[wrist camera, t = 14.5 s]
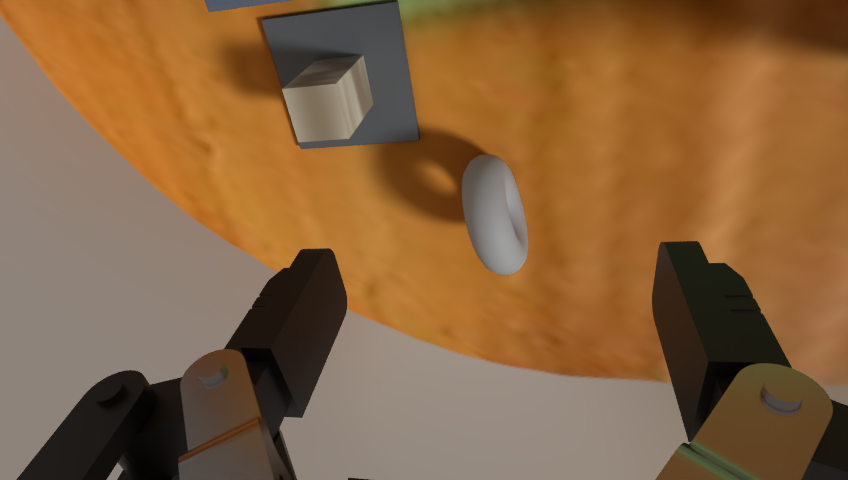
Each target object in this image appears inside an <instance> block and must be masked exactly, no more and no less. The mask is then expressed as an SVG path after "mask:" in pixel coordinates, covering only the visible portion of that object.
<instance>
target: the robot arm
mask: <svg viewBox="0 0 848 480" xmlns="http://www.w3.org/2000/svg"><path fill="white" fill-rule="evenodd" d="M652 309H653V316H654V321H655V325H656V328H657V332H658V335H659V339H660V342H661V346H662V349H663V353H664V356H665V360H666V363H667V367H668V370H669V374H670V377H671V381H672V385H673V388H674V392H675V395H676V398H677V402H678V405H679V409H680V412H681V416H682V420H683V423H684V427H685V430H686V434H687V437H688V441H689V442H691V443H690V444H689V445H688V444H686V443H683V444H681V445H680V446H679V447H678V448H677V450H676V451H675V453H674V454H673V455H672V457H671V458H670V459H669V461H668V462H667V464H666V465H665V467H664V468H663V470H662V471H661V472H660V474H659V475H658V477H657V478H656V480H848V406H847V405H844V404H841V403H838V402H836V401H833V400H831V399H830V398H829V396H828V394H827V393H826V392H825V390H824V389H823V388H822V387H821V386H820V385H819V384H818V383H817V382H815V381H814V380H813V379H811V378H810V377H808V376H807V375H805V374H803V373H801V372H799V371H797V370H795V369H792V367H791V365H790V363H789V362H788V360H787V358H786V356H785V354H784V352H783V350H782V349H781V347H780V345H779V343H778V341H777V339H776V337H775V336H774V334H773V332H772V330H771V328H770V326H769V324H768V323H767V321H766V319H765V317H764V315H763V314H761V309H760V308H759V306H758V304H757V302H756V300H755V299H753V295H752V293H751V291H750V289H749V287H748V285H747V283H746V282H745V280H744V278H743V277H742V276H740V275H739V274H738V273H737V272H735V271H734V270H733V269H732V268H730V267H729V266H728V265H727V264H725V263H709V262H708V260H707V258H706V256H705V254H704V252H703V249H702V247H701V245H700V243H699V242H697V241H684V242H661V243H660V246H659V250H658V257H657V264H656V271H655V278H654V286H653V293H652ZM346 310H347V295H346V291H345V287H344V284H343V281H342V277H341V274H340V271H339V268H338V264H337V261H336V258H335V255H334V253H333V251H332V250H331V249H329V248H328V249H302V250H301V251H300V252H299V253H298V255H297V256H296V258H295V260H294V261H293V263H292V264H291V266H290V268H283V269H282V270H281V271H280V272H278V273H277V274H276V275H275V276H273V277H272V278H271V279H270V280H269V281H268V282H267V284H266V285H265V287H264V288H263V290H262V292H261V293H260V297H258V298H257V299H256V301H255V302H254V304H253V306H252V309H250V310H249V311H248V313H247V314H246V316H245V318H244V319H243V321H242V322H241V324H240V325H239V327H238V328H237V330H236V331H235V333H234V334H233V336H232V338H231V339H230V341H229V342H228V344H227V345H226V347H225V348H224V349H222V350H217V351H214V352H211V353H208V354H206V355H204V356H203V357H201V358H199V359H198V360H197V361H195V362H194V363H193V364H192V365H191V366H190V367H189V368H188V369H187V370H186V372H185V373H184V375H183V377H181V378H177V379H173V380H169V381H164V382H160V383H156V384H152V385H150V384H149V383H148V381H147V380H146V378H145V377H144V375H143V374H142V373H140V372H138V371H132V370H129V371H122V372H118V373H116V374H113V375H111V376H108V377H107V378H105V379H103V380H102V381H100V382H98V383H97V384H96V385H94V386H93V387H92V388H91V389H90V390H89V391H88V392H87V393H86V394H85V395H84V396H83V397H82V399H81V400H80V401H79V402H78V404H77V405H76V406H75V407H74V408H73V410H72V411H71V412H70V414H69V415H68V416H67V417H66V419H65V420H64V421H63V422H62V423H61V425H60V426H59V427H58V428H57V430H56V431H55V432H54V434H53V435H52V436H51V437H50V438H49V440H48V441H47V442H46V444H45V445H44V446H43V447H42V448H41V450H40V451H39V452H38V454H37V455H36V456H35V457H34V459H33V460H32V461H31V462H30V464H29V465H28V466H27V467H26V469H25V470H24V471H23V472H22V474H21V475H20V476H19V477H18V478H17V480H106V479H107V478H108V476H109V475H110V473H111V472H112V470H113V469H114V467H115V465H116V464H117V462H118V463H119V464H120V466H121V467H122V468H123V469H124V470H123V471H122V473H121V474H120V476H119V478H118V479H117V480H297V478H296V475H295V472H294V469H293V466H292V463H291V459H290V456H289V453H288V450H287V447H286V444H285V441H284V438H283V435H282V432H281V430H280V428H279V427H280V425H281V423H282V421H283V418H284V417H300V418H302V417H303V414H304V412H305V410H306V407H307V405H308V403H309V400H310V398H311V395H312V393H313V391H314V388H315V386H316V384H317V381H318V379H319V376H320V374H321V372H322V369H323V367H324V365H325V362H326V360H327V358H328V355H329V353H330V351H331V348H332V346H333V343H334V341H335V339H336V336H337V334H338V332H339V329H340V327H341V325H342V322H343V320H344V317H345V315H346ZM348 480H368V479H356V478H348Z"/></svg>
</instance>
